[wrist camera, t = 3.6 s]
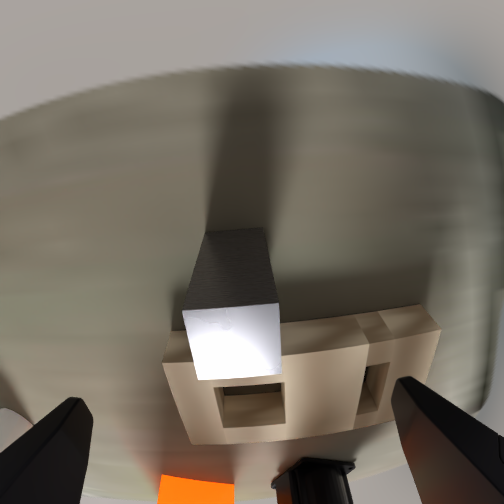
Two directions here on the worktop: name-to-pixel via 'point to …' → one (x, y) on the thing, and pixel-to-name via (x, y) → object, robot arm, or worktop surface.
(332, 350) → the socket block
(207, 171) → the worktop surface
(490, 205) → the worktop surface
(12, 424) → the white cylinder
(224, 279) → the square bit
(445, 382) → the worktop surface
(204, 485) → the orange juice
